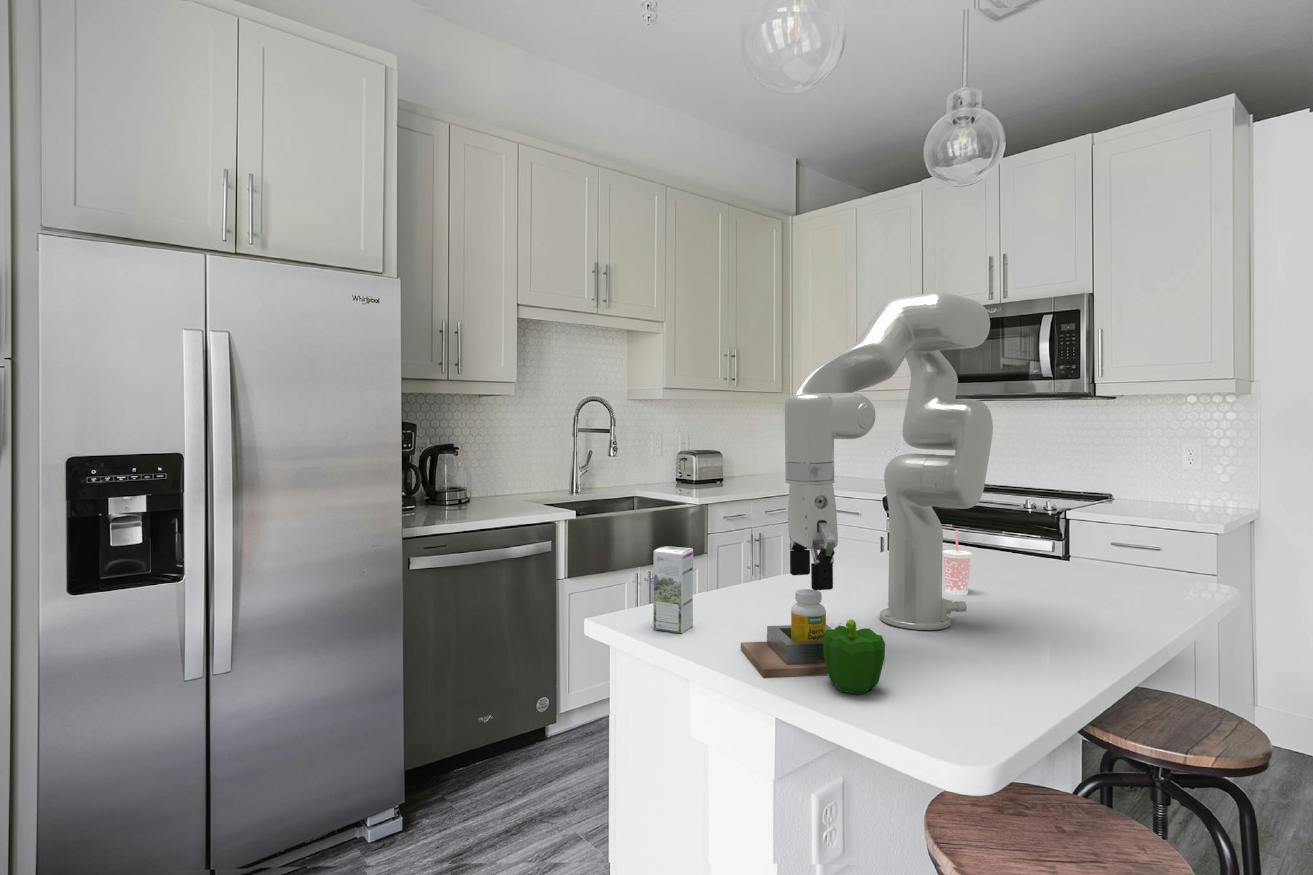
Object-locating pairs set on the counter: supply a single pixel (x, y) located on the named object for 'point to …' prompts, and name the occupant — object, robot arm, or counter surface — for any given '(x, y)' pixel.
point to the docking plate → (777, 662)
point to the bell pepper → (853, 657)
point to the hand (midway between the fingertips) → (810, 581)
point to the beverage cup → (956, 570)
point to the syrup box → (673, 589)
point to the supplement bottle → (808, 616)
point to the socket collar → (794, 647)
